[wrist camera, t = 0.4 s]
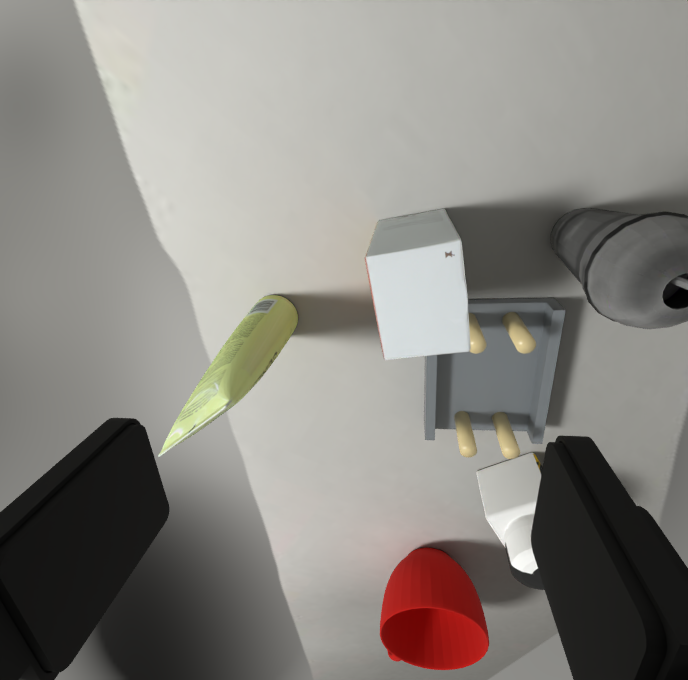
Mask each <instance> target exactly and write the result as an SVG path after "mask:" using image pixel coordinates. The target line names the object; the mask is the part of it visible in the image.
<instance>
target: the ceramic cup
mask: <svg viewBox="0 0 688 680" xmlns="http://www.w3.org/2000/svg"><path fill="white" fill-rule="evenodd" d="M380 637H381V640H382V643H383V644H384V646H385V647H386V648H387V650H388V655H389V657H390V658H391V659H392V660H394V661H400V660H403V661H404V662H407V663H409V664H412V665H414V666H418V667H422V668H427V669H434V670H452V669H458V668H463V667H466V666H469V665H472V664H474V663H476V662H477V661H479V660H480V659H481V658H482V657H483V656H484V655H485V653H486V652H487V650H488V646H489V637H488V630H487V625H486V621H485V617H484V613H483V609H482V606H481V602H480V599H479V597H478V594H477V592H476V590H475V587H474V585H473V583H472V581H471V579H470V578H469V576H468V575H467V574H466V572H465V571H464V570H463V569H462V567H461V566H460V565H459V564H458V563H457V562H455V561H454V560H453V559H452V558H451V557H450V556H449V555H448V554H446V553H445V552H443V551H441V550H438V549H434V548H420V549H416V550H414V551H412V552H411V553H410V554H409V555H408V556H407V557H405V558H404V559H403V560H402V561H401V562H400V563H399V564H398V565H397V567H396V568H395V569H394V571H393V573H392V574H391V576H390V579H389V581H388V584H387V587H386V590H385V594H384V599H383V605H382V612H381V621H380Z"/></svg>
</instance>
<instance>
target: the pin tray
mask: <svg viewBox="0 0 688 680" xmlns="http://www.w3.org/2000/svg"><path fill="white" fill-rule="evenodd" d="M565 311H566V310H565V309H564V308H563V307H562V306H561V305H560V304H559V303H558V302H557V301H556V300H555V299H554V298H523V299H474V300H468V313H469V329H470V345H471V349H470V351H469V352H461V353H450V354H440V355H430V356H425V398H424V428H425V440H435V429H456V431H457V437H458V442H459V448H460V453H461V455H463V456H464V457H472V456H474V455H475V454H476V453H477V448H476V444H475V440H474V435H473V431H472V430H496V434H497V437H498V440H499V443H500V447H501V450H502V453H503V456H504V457H506V458H508V459H514V458H517V457H518V456H519V455H520V450H519V447H518V444H517V441H516V439H515V436H514V433H513V431H527V433H528V435H529V438H530V440H531V442H532V443H534V444H542V441H543V436H544V430H545V424H546V419H547V413H548V407H549V402H550V396H551V390H552V385H553V379H554V373H555V368H556V362H557V356H558V351H559V345H560V339H561V334H562V328H563V322H564V317H565Z"/></svg>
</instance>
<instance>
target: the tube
mask: <svg viewBox="0 0 688 680" xmlns="http://www.w3.org/2000/svg"><path fill="white" fill-rule="evenodd" d="M297 323H298V315H297V311H296V309H295V307H294V306H293V304H292V303H291V302H290V301H288V300H287V299H285V298H283V297H281V296H277V295H270V296H265V297H263V298H262V299H260V300H259V301H258V302H257V303H256V304H255V305H254V307H253V308H252V309H251V310H250V312H249V313H248V314H247V315H246V317H245V318H244V319H243V320H242V322H241V323H240V324H239V326H238V327H237V328H236V329H235V331H234V332H233V333H232V335H231V336H230V337H229V339H228V340H227V342H226V343H225V345H224V346H223V347H222V349H221V350H220V352H219V353H218V355H217V356H216V358H215V359H214V361H213V362H212V364H211V365H210V367H209V368H208V370H207V371H206V373H205V374H204V376H203V377H202V379H201V381H200V382H199V384H198V385H197V387H196V389H195V390H194V392H193V393H192V395H191V397H190V398H189V400H188V401H187V403H186V405H185V406H184V408H183V409H182V411H181V413H180V415H179V416H178V418H177V420H176V422H175V424H174V425H173V427H172V429H171V431H170V433H169V435H168V437H167V439H166V441H165V443H164V446H163V448H162V451H161V453H160V454H159V455H158V456H159V457H160V456H161V455H163V454H164V453H165V452H167V451H168V450H169V449H171V448H172V447H174V446H176V445H177V444H179V443H181V442H182V441H184V440H186V439H187V438H189V437H191V436H192V435H194V434H195V433H197V432H198V431H199V430H201V429H202V428H204V427H205V426H207V425H208V424H209V423H211V422H212V421H214V420H215V419H216V418H218V417H219V416H220V415H222V414H223V413H225V412H226V411H227V410H229V409H230V408H231V407H233V406H234V405H235V404H236V403H238V402H239V401H240V400H241V399H242V398H243V397H244V396H245V395H246V394H247V393H248V392H249V391H250V390H251V389H252V388H253V386H254V385H255V384H256V383H257V382H258V381H259V380H260V379H261V377H262V376H263V375H264V373H265V372H266V371H267V370H268V368H269V367H270V366H271V364H272V363H273V361H274V360H275V359H276V357H277V356H278V354H279V353H280V352H281V350H282V349H283V347H284V346H285V344H286V343H287V341H288V340H289V338H290V336H291V335H292V333H293V332H294V330H295V328H296V326H297Z"/></svg>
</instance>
